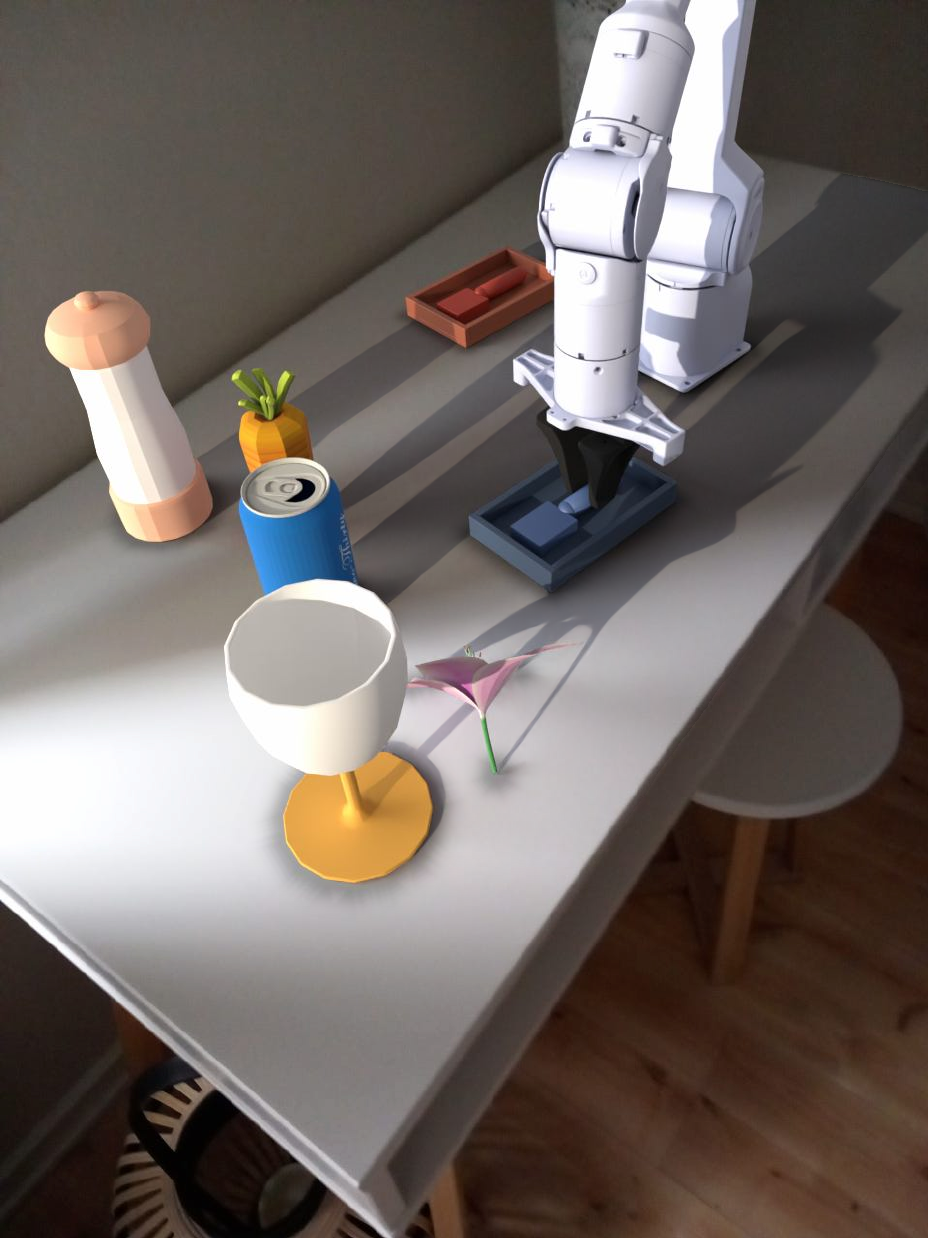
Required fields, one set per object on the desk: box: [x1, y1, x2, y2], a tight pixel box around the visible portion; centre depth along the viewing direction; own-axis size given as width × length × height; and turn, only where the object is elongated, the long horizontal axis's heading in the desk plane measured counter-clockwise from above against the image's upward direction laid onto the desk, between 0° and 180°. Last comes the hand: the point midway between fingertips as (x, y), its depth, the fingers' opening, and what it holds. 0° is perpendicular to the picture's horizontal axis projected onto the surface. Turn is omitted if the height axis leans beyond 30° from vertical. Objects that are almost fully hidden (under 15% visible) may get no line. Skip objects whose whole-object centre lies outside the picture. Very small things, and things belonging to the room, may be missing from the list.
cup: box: [223, 579, 434, 884], centre depth 53 cm, size 9×9×16 cm
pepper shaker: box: [44, 290, 214, 543], centre depth 71 cm, size 7×7×19 cm
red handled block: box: [437, 267, 526, 324], centre depth 96 cm, size 10×3×2 cm, turn 132°
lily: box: [407, 641, 583, 774], centre depth 60 cm, size 12×12×10 cm
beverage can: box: [238, 458, 360, 596], centre depth 65 cm, size 6×6×12 cm
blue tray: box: [468, 456, 679, 593], centre depth 74 cm, size 14×9×2 cm, turn 132°
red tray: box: [405, 245, 554, 349], centre depth 96 cm, size 14×9×2 cm, turn 132°
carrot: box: [231, 367, 315, 474], centre depth 70 cm, size 5×5×15 cm
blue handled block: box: [510, 477, 623, 557], centre depth 74 cm, size 10×3×2 cm, turn 132°
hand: (590, 493), depth 75 cm, fingers closed
